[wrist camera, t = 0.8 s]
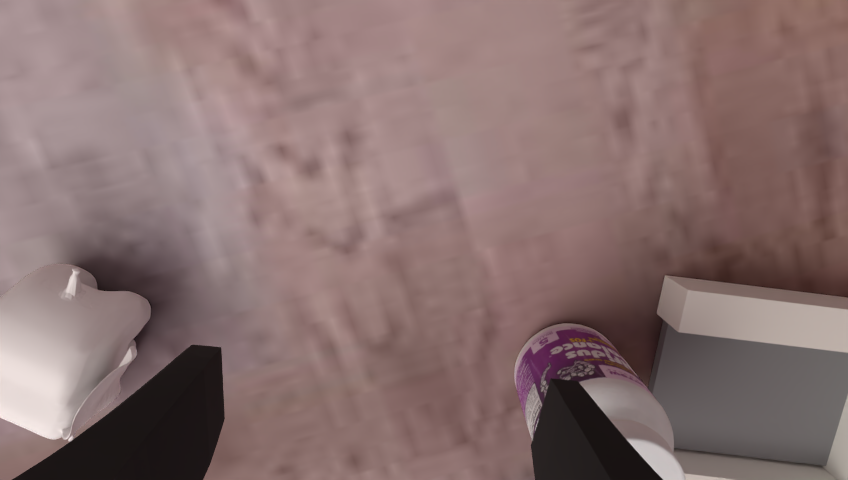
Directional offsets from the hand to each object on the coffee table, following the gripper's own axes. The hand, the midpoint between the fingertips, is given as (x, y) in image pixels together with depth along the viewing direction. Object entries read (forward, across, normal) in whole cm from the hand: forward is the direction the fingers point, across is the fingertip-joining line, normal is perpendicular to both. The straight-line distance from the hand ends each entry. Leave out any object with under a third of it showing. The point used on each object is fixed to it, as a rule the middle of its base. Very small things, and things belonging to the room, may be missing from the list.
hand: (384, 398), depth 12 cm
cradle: (+12, -18, +9) cm, 24 cm away
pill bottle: (+13, -9, +9) cm, 18 cm away
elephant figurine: (+14, +15, +10) cm, 23 cm away
